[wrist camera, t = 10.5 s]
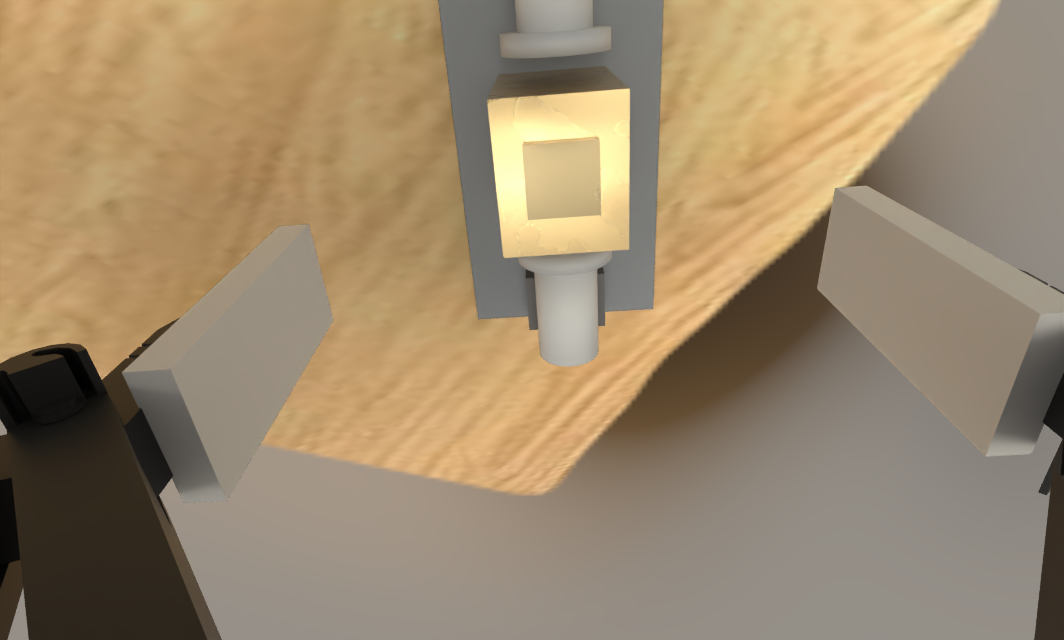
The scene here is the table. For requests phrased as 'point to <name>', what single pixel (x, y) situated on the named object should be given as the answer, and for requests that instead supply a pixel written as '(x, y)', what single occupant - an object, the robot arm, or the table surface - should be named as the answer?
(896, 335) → the robot arm
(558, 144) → the coupler
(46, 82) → the table surface
